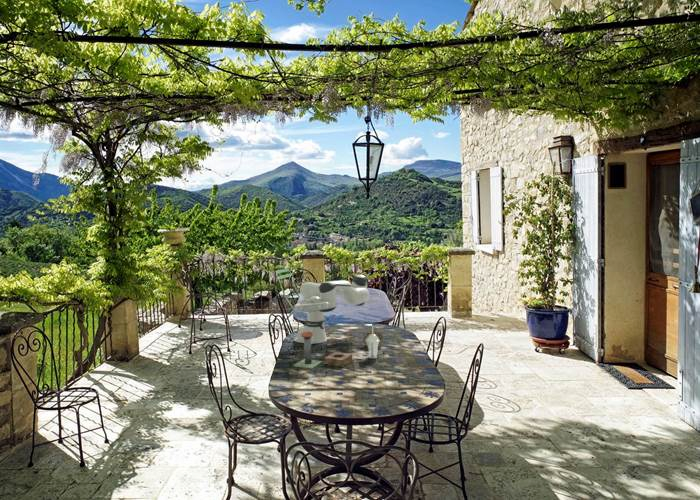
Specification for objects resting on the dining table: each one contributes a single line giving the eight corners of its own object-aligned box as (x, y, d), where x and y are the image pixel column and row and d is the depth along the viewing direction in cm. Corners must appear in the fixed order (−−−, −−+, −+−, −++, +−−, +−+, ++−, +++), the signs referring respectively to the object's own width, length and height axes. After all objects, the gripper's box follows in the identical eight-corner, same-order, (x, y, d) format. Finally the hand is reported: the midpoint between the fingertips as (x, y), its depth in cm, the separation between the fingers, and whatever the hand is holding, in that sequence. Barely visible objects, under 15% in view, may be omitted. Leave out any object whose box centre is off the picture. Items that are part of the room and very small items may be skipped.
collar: (324, 364, 301) (324, 357, 301) (334, 358, 312) (334, 352, 311) (343, 367, 296) (342, 360, 295) (352, 360, 306) (352, 354, 306)
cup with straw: (376, 360, 307) (375, 326, 305) (362, 358, 311) (361, 325, 309) (382, 356, 314) (381, 323, 312) (369, 354, 319) (368, 321, 317)
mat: (293, 366, 300) (293, 364, 300) (304, 360, 310) (304, 358, 310) (311, 368, 294) (311, 367, 294) (322, 362, 305) (322, 361, 305)
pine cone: (383, 343, 341) (383, 328, 340) (384, 347, 331) (384, 332, 330) (349, 344, 341) (349, 329, 340) (349, 348, 332) (348, 333, 331)
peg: (300, 363, 302) (299, 333, 300) (308, 360, 307) (307, 331, 305) (307, 365, 298) (306, 335, 296) (316, 362, 302) (315, 333, 300)
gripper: (330, 308, 322) (327, 311, 308) (297, 311, 323) (293, 315, 309) (329, 298, 321) (326, 301, 308) (296, 301, 323) (292, 304, 309)
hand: (309, 308), depth 309 cm, fingers open, 8 cm apart
